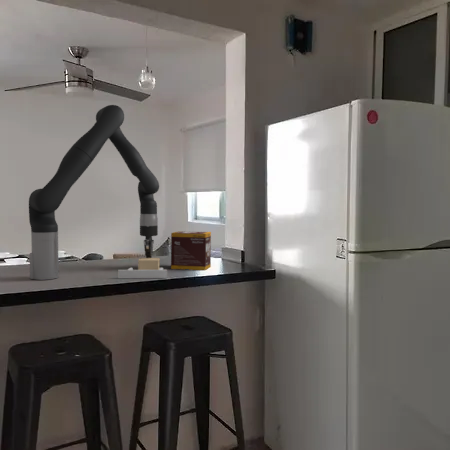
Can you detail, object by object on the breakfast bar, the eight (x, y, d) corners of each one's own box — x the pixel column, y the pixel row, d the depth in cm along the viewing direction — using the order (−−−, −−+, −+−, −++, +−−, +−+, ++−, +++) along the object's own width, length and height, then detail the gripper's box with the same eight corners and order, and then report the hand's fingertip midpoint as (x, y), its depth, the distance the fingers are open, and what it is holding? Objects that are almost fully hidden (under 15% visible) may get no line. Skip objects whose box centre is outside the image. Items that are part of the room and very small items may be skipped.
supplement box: (205, 270, 187) (205, 233, 186) (170, 269, 190) (170, 232, 190) (211, 266, 197) (211, 231, 197) (178, 265, 201) (178, 230, 200)
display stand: (118, 278, 167) (118, 270, 167) (123, 272, 180) (123, 265, 180) (166, 278, 168) (166, 270, 168) (168, 272, 181) (168, 265, 181)
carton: (138, 272, 182) (138, 260, 181) (140, 269, 189) (140, 257, 189) (158, 272, 182) (158, 260, 182) (159, 269, 190) (159, 257, 189)
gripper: (141, 223, 197) (141, 262, 198) (138, 225, 184) (138, 267, 185) (158, 223, 198) (158, 262, 199) (156, 225, 184) (156, 267, 185)
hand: (148, 264), depth 192 cm, fingers closed
